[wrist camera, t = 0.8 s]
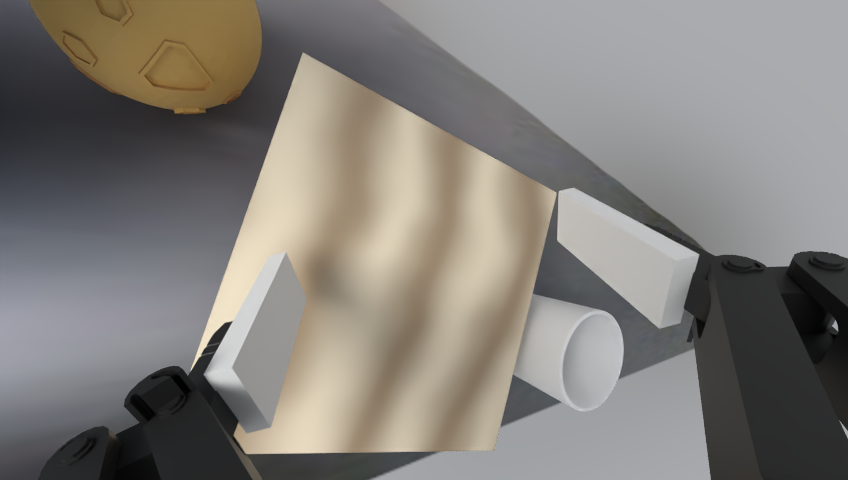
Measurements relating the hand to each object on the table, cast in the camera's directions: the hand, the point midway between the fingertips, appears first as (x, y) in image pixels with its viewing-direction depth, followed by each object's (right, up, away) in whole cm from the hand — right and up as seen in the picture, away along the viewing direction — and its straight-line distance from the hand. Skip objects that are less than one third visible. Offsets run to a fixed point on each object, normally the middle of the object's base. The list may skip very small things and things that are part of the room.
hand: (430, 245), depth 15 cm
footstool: (-5, -2, +13) cm, 15 cm away
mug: (+9, -9, +21) cm, 25 cm away
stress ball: (-17, +13, +7) cm, 23 cm away
